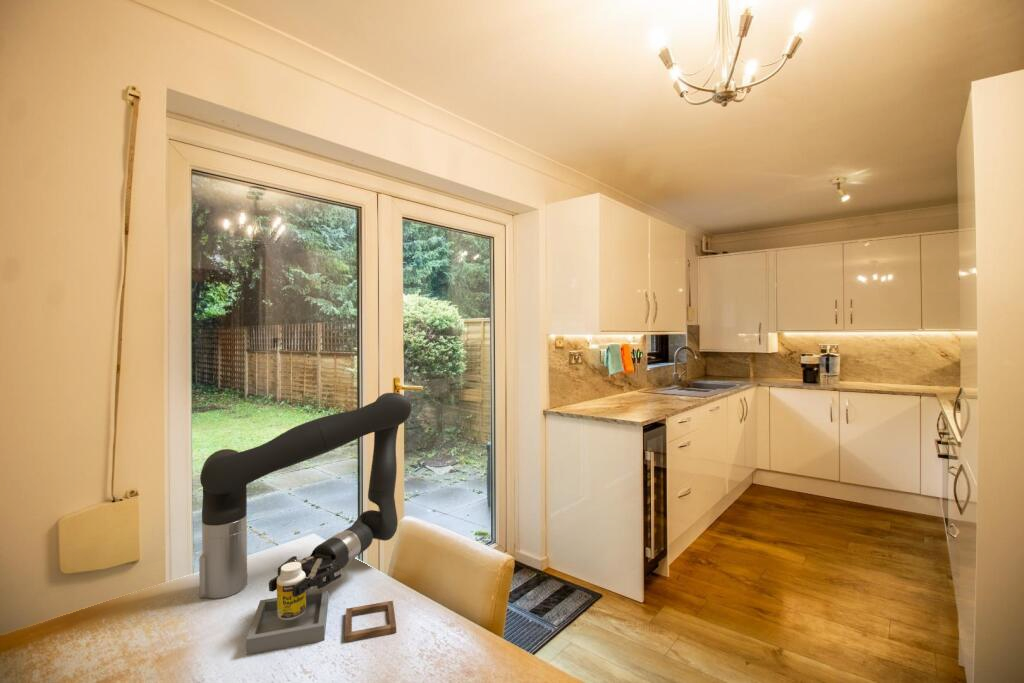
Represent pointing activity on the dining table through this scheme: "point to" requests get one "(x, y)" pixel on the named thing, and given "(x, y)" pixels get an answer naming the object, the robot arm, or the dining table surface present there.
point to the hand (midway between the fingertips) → (282, 589)
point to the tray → (287, 625)
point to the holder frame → (373, 631)
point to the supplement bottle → (290, 592)
